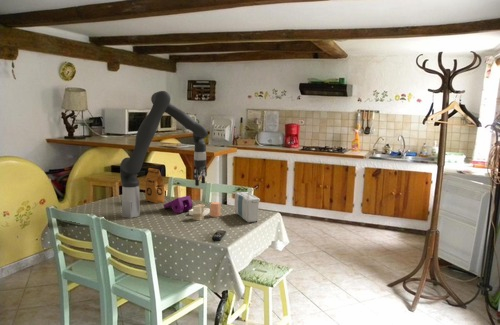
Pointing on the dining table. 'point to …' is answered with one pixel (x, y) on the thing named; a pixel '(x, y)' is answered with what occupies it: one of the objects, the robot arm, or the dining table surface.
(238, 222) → the dining table surface
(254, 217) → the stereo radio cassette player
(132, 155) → the robot arm
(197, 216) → the birch block
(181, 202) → the mounting bracket
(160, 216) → the dining table surface
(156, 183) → the coffee package
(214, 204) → the terracotta block
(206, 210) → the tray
